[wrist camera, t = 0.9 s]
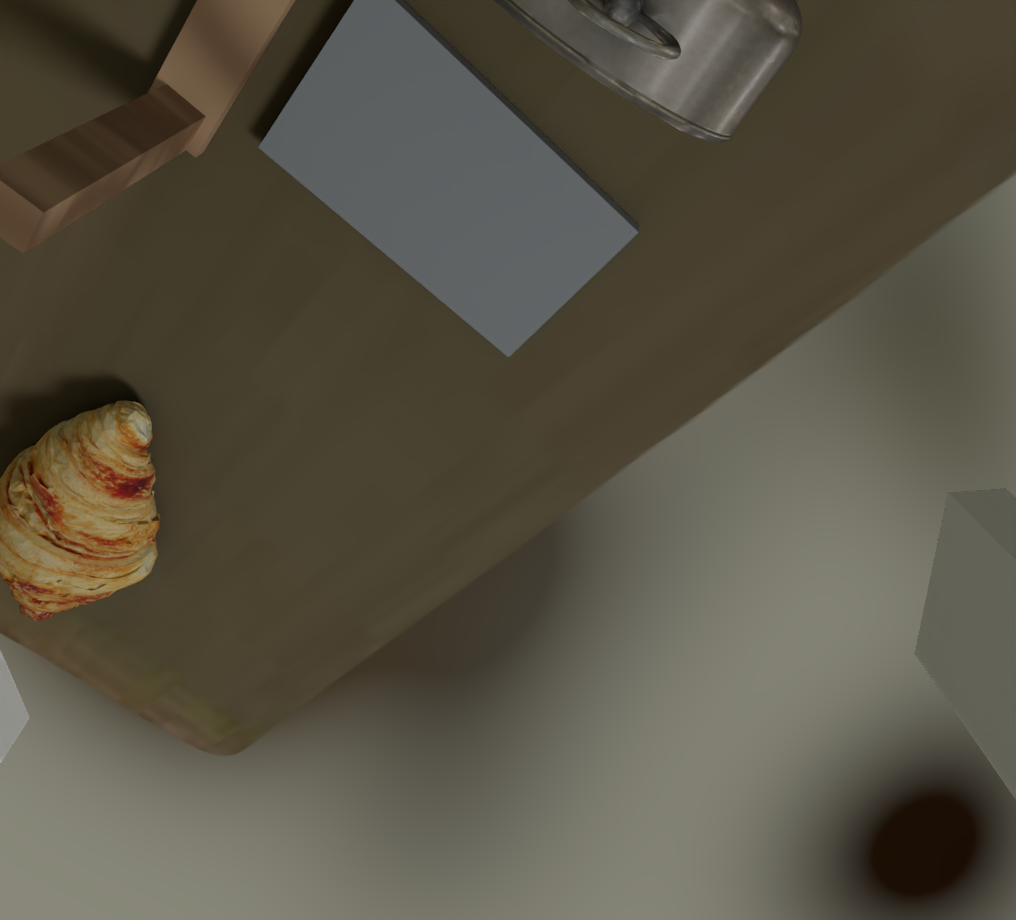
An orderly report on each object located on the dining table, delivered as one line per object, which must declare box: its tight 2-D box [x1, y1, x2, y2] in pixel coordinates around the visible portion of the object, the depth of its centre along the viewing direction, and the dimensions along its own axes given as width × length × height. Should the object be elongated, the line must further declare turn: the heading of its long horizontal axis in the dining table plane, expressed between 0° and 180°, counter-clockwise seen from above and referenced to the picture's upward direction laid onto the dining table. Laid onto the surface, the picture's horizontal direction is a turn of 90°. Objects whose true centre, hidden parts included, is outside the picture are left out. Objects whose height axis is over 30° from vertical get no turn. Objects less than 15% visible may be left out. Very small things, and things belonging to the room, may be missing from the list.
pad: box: [258, 0, 639, 357], centre depth 38 cm, size 9×15×1 cm, turn 49°
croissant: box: [0, 401, 160, 621], centre depth 52 cm, size 21×10×8 cm, turn 147°
